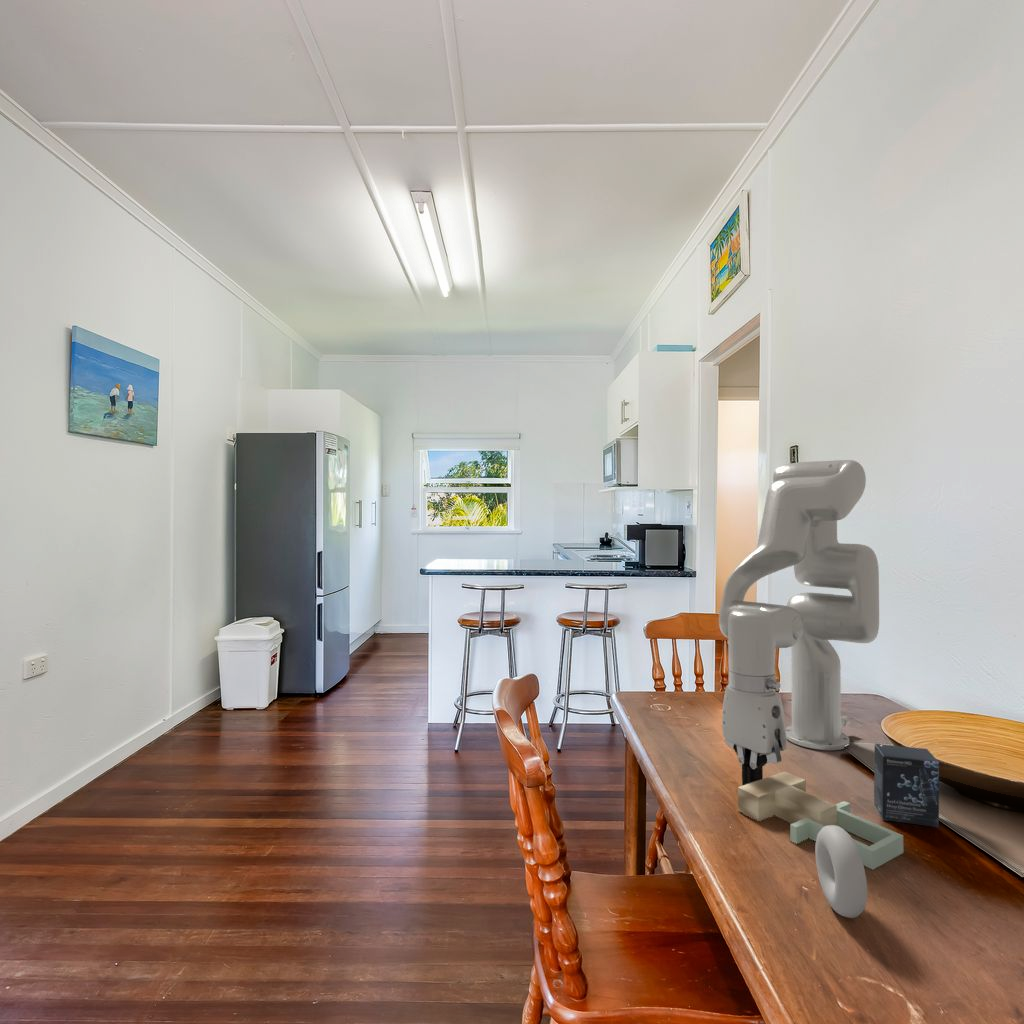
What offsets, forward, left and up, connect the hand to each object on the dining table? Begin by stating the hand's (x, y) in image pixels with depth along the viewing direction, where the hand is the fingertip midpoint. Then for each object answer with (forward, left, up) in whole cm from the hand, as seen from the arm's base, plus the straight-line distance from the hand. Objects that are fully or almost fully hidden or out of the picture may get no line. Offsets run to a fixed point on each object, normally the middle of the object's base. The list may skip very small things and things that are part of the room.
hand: (752, 787), depth 106 cm
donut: (+16, +25, -2) cm, 30 cm away
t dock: (0, +17, -2) cm, 17 cm away
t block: (0, +8, -2) cm, 8 cm away
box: (-16, +17, -2) cm, 23 cm away
